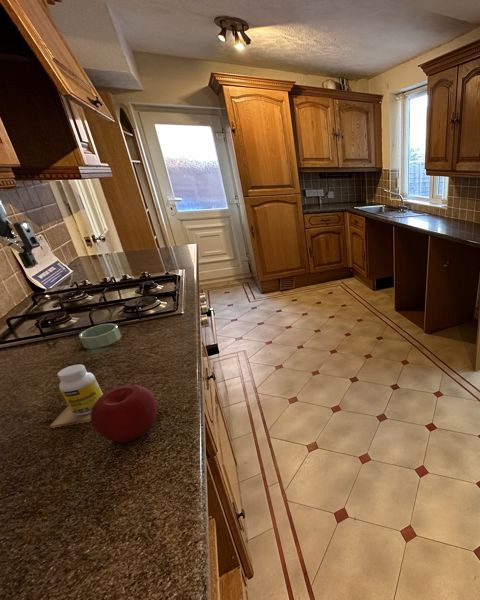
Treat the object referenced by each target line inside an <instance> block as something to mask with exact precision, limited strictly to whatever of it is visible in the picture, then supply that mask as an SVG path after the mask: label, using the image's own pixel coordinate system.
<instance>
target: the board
mask: <svg viewBox="0 0 480 600" xmlns="http://www.w3.org/2000/svg"><path fill="white" fill-rule="evenodd" d="M90 421H91V413H88V414H85V415H75V414H73V412H72V411H71V409H70V407H69V406H68V405H67V406H66V408H64V410H63V411H62V412H61V413H60V414H59V415H58V416H57V418H56V419H55V420H53V421H52V423H51V424H50V425H49V427H50V429H51V428H53V429H56V428H55V427H59V428H62V427H61V426H64V427H68V426H67V425H70V426H74V425H73V424H76V425H80V424H79V423H81V424H85V423H84V422H87V423H91V422H90Z"/></svg>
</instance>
